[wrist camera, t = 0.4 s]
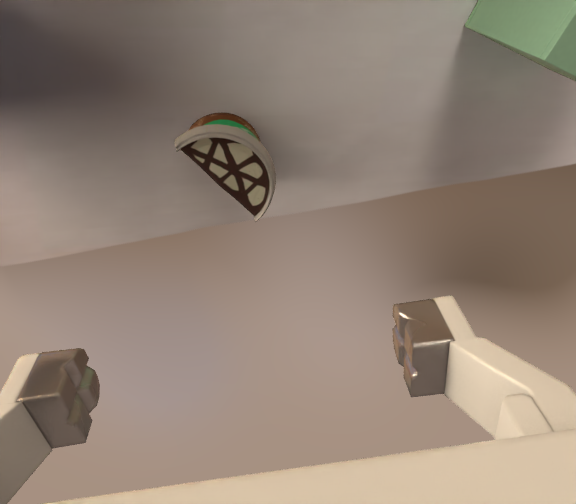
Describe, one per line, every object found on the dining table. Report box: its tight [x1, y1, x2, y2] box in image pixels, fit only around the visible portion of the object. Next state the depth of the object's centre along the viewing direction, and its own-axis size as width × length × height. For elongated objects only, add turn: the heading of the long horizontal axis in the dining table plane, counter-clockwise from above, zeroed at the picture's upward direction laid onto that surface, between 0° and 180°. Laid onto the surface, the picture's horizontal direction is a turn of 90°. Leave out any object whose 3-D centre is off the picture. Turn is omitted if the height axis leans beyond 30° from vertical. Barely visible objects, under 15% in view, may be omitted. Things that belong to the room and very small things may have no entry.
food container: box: [175, 113, 276, 222], centre depth 54 cm, size 12×6×10 cm, turn 42°
